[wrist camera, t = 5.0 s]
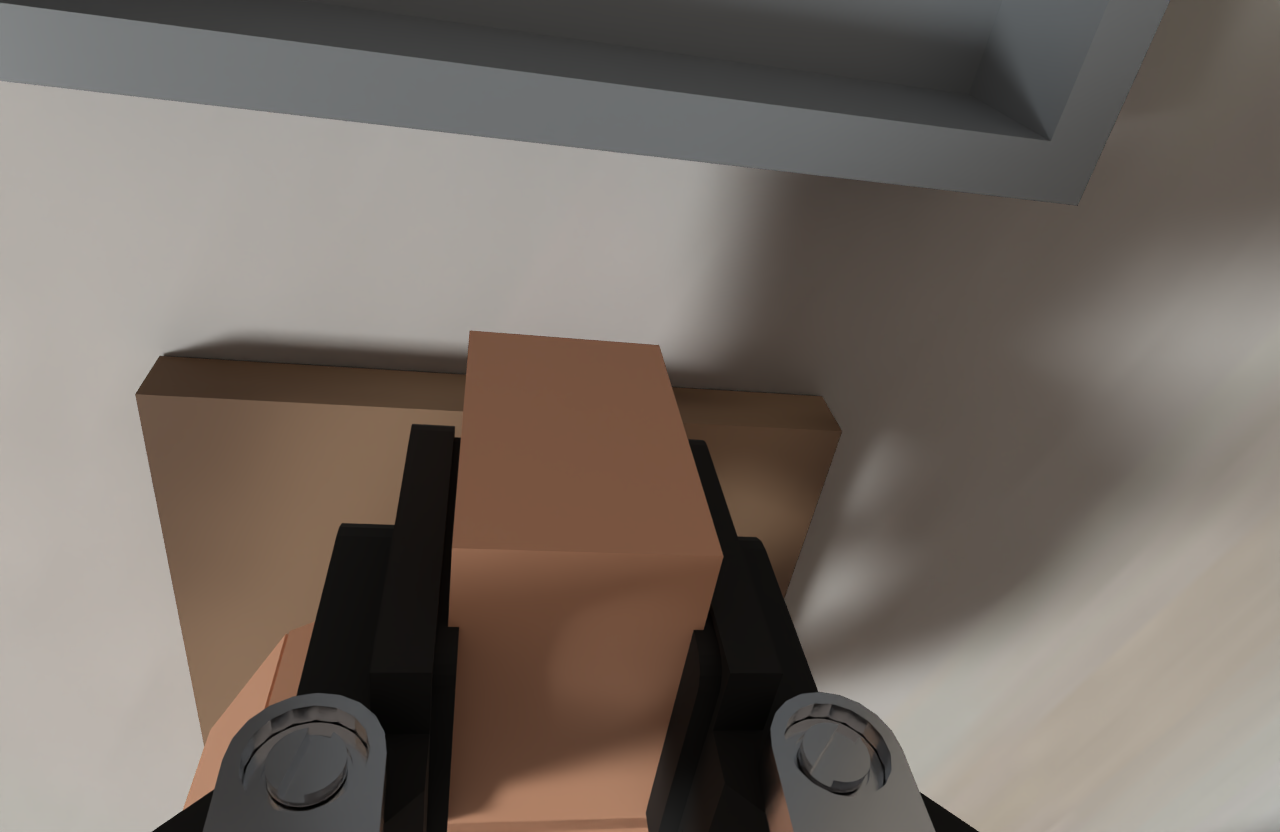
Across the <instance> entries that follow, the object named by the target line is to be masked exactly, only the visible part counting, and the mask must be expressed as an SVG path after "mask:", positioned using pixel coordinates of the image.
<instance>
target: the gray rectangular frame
mask: <svg viewBox="0 0 1280 832" xmlns="http://www.w3.org/2000/svg"><path fill="white" fill-rule="evenodd" d="M1169 2H1170V0H0V81H7V82H15V83H24V84H33V85H41V86H50V87H59V88H67V89H76V90H84V91H93V92H102V93H110V94H119V95H128V96H136V97H145V98H153V99H162V100H171V101H179V102H188V103H197V104H205V105H214V106H223V107H231V108H240V109H248V110H257V111H266V112H274V113H283V114H292V115H300V116H309V117H317V118H326V119H335V120H343V121H352V122H361V123H369V124H378V125H387V126H395V127H404V128H412V129H421V130H430V131H438V132H447V133H456V134H464V135H473V136H481V137H490V138H499V139H507V140H516V141H525V142H533V143H542V144H551V145H559V146H568V147H576V148H585V149H594V150H602V151H611V152H620V153H628V154H637V155H645V156H654V157H663V158H671V159H680V160H689V161H697V162H706V163H715V164H723V165H732V166H740V167H749V168H758V169H766V170H775V171H784V172H792V173H801V174H809V175H818V176H827V177H835V178H844V179H853V180H861V181H870V182H878V183H887V184H896V185H904V186H913V187H922V188H930V189H939V190H948V191H956V192H965V193H973V194H982V195H991V196H999V197H1008V198H1017V199H1025V200H1034V201H1042V202H1051V203H1060V204H1068V205H1077V206H1078V204H1079V201H1080V199H1081V197H1082V195H1083V193H1084V190H1085V188H1086V186H1087V184H1088V181H1089V179H1090V177H1091V175H1092V173H1093V170H1094V168H1095V166H1096V164H1097V161H1098V159H1099V157H1100V155H1101V153H1102V150H1103V148H1104V146H1105V144H1106V141H1107V139H1108V137H1109V135H1110V133H1111V130H1112V128H1113V126H1114V124H1115V122H1116V119H1117V117H1118V115H1119V113H1120V110H1121V108H1122V106H1123V104H1124V102H1125V99H1126V97H1127V95H1128V93H1129V90H1130V88H1131V86H1132V84H1133V82H1134V79H1135V77H1136V75H1137V73H1138V70H1139V68H1140V66H1141V64H1142V62H1143V59H1144V57H1145V55H1146V53H1147V51H1148V48H1149V46H1150V44H1151V42H1152V39H1153V37H1154V35H1155V33H1156V31H1157V28H1158V26H1159V24H1160V22H1161V19H1162V17H1163V15H1164V13H1165V11H1166V8H1167V6H1168V4H1169Z"/></svg>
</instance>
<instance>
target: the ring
mask: <svg viewBox="0 0 1280 832" xmlns="http://www.w3.org/2000/svg"><path fill="white" fill-rule="evenodd" d="M722 560H723V553H722V550H721V547H720V543H719V540H718V537H717V533H716V530H715V527H714V524H713V520H712V517H711V514H710V511H709V507H708V504H707V501H706V497H705V494H704V491H703V488H702V484H701V481H700V478H699V474H698V471H697V468H696V465H695V461H694V458H693V455H692V451H691V448H690V445H689V442H688V438H687V435H686V432H685V429H684V425H683V422H682V419H681V415H680V412H679V409H678V406H677V402H676V399H675V396H674V392H673V389H672V386H671V383H670V379H669V376H668V373H667V369H666V366H665V363H664V360H663V356H662V353H661V350H660V347H659V345H650V344H637V343H624V342H611V341H598V340H585V339H572V338H559V337H546V336H533V335H520V334H507V333H494V332H481V331H470V334H469V346H468V358H467V370H466V383H465V395H464V407H463V419H462V431H461V444H460V456H459V468H458V480H457V493H456V505H455V517H454V529H453V541H452V557H451V578H450V598H449V619H448V627H459V638H458V655H457V672H456V689H455V707H454V724H453V741H452V758H451V775H450V792H449V809H448V826H447V832H648V825H647V818H646V809H647V805H648V801H649V798H650V794H651V790H652V786H653V782H654V779H655V775H656V771H657V767H658V763H659V760H660V756H661V752H662V748H663V744H664V741H665V737H666V733H667V729H668V725H669V722H670V718H671V714H672V710H673V706H674V703H675V699H676V695H677V691H678V687H679V684H680V680H681V676H682V672H683V668H684V665H685V661H686V657H687V653H688V649H689V646H690V642H691V638H692V634H693V630H704V626H705V622H706V619H707V615H708V611H709V608H710V604H711V600H712V597H713V593H714V589H715V586H716V582H717V578H718V575H719V571H720V567H721V564H722ZM314 623H315V621H314V622H312V623H309V624H307V625H304V626H301V627H299V628H296V629H294V630H291V631H289V634H285V635H284V637H283V638H282V639H281V640H280V642H279V643H278V644H277V646H276V647H275V648H274V649H273V651H272V652H271V653H270V654H269V656H268V657H267V658H266V660H265V661H264V662H263V663H262V665H261V666H260V667H259V668H258V670H257V671H256V672H255V674H254V675H253V676H252V677H251V679H250V680H249V681H248V682H247V684H246V685H245V686H244V688H243V689H242V690H241V691H240V693H239V694H238V695H237V697H236V698H235V699H234V700H233V702H232V703H231V704H230V705H229V707H228V708H227V709H226V711H225V712H224V713H223V714H222V716H221V717H220V718H219V719H218V721H217V722H216V723H215V725H214V726H213V727H212V728H211V730H210V732H209V735H208V738H207V741H206V744H205V747H204V749H203V752H202V755H201V758H200V761H199V764H198V767H197V770H196V773H195V776H194V779H193V782H192V785H191V788H190V791H189V794H188V796H187V799H186V802H185V805H184V808H183V810H184V809H186V808H187V807H189V806H190V805H192V804H193V803H195V802H196V801H197V800H199V799H200V798H202V797H203V796H205V795H206V794H208V793H209V792H211V791H212V790H214V788H215V785H216V781H217V777H218V774H219V770H220V766H221V762H222V759H223V757H224V755H225V753H226V750H227V748H228V746H229V744H230V742H231V740H232V738H233V737H234V736H235V735H236V733H237V732H238V731H239V730H240V729H241V728H242V727H243V726H244V724H245V723H246V722H247V721H248V720H249V719H251V718H252V717H254V716H255V715H257V714H258V713H259V712H261V711H262V710H264V709H265V708H267V707H268V706H270V705H273V704H275V703H278V702H280V701H283V700H285V699H288V698H291V697H293V696H296V695H297V691H298V687H299V683H300V679H301V675H302V671H303V667H304V663H305V659H306V655H307V651H308V647H309V643H310V639H311V635H312V631H313V627H314Z"/></svg>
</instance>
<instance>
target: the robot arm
mask: <svg viewBox="0 0 1280 832" xmlns="http://www.w3.org/2000/svg"><path fill="white" fill-rule="evenodd" d="M688 442H689V445H690V448H691V451H692V455H693V458H694V461H695V465H696V468H697V471H698V474H699V478H700V481H701V484H702V488H703V491H704V494H705V497H706V501H707V504H708V507H709V511H710V514H711V517H712V520H713V524H714V527H715V530H716V533H717V537H718V540H719V543H720V547H721V550H722V553H723V560H722V564H721V567H720V571H719V575H718V578H717V582H716V586H715V589H714V593H713V597H712V600H711V604H710V608H709V611H708V615H707V619H706V622H705V626H704V630H693V634H692V638H691V642H690V646H689V649H688V653H687V657H686V661H685V665H684V668H683V672H682V676H681V680H680V684H679V687H678V691H677V695H676V699H675V703H674V706H673V710H672V714H671V718H670V722H669V725H668V729H667V733H666V737H665V741H664V744H663V748H662V752H661V756H660V760H659V763H658V767H657V771H656V775H655V779H654V782H653V786H652V790H651V794H650V798H649V801H648V805H647V809H646V818H647V825H648V832H979V831H977V830H976V829H974V828H973V827H971V826H970V825H968V824H967V823H965V822H964V821H962V820H961V819H959V818H958V817H956V816H955V815H953V814H952V813H950V812H949V811H947V810H946V809H944V808H943V807H941V806H940V805H938V804H937V803H935V802H934V801H932V800H931V799H929V798H928V797H926V796H925V795H924V794H922V793H921V792H919V789H918V787H917V784H916V782H915V779H914V777H913V774H912V772H911V769H910V767H909V764H908V762H907V759H906V757H905V754H904V752H903V749H902V748H901V746H900V744H899V742H898V741H897V739H896V737H895V735H894V733H893V732H892V730H891V729H890V728H889V727H888V726H887V725H886V724H885V723H884V722H883V721H882V720H881V719H880V718H879V717H878V716H877V715H876V714H875V713H873V712H872V711H870V710H869V709H867V708H866V707H864V706H863V705H861V704H860V703H858V702H855V701H853V700H850V699H848V698H845V697H843V696H841V695H836V694H830V693H823V692H818V690H817V687H816V685H815V682H814V679H813V677H812V674H811V671H810V668H809V666H808V663H807V660H806V658H805V655H804V652H803V649H802V647H801V644H800V641H799V639H798V636H797V633H796V630H795V628H794V625H793V622H792V620H791V617H790V614H789V611H788V609H787V606H786V603H785V601H784V598H783V595H782V592H781V590H780V587H779V584H778V582H777V579H776V576H775V573H774V571H773V568H772V565H771V563H770V560H769V557H768V554H767V552H766V549H765V547H764V545H763V543H762V541H761V540H760V539H758V538H757V537H739V536H737V533H736V530H735V527H734V524H733V521H732V518H731V515H730V512H729V509H728V506H727V503H726V500H725V497H724V494H723V491H722V488H721V485H720V482H719V479H718V476H717V473H716V470H715V467H714V464H713V461H712V458H711V455H710V452H709V449H708V446H707V444H706V442H705V441H704V440H696V439H688ZM460 444H461V438H460V437H455V426H445V425H427V424H412V426H411V431H410V437H409V442H408V448H407V454H406V460H405V466H404V472H403V478H402V484H401V490H400V496H399V502H398V508H397V514H396V520H395V525H385V524H356V523H342V524H341V525H340V526H339V529H338V532H337V536H336V539H335V543H334V547H333V551H332V555H331V559H330V563H329V567H328V571H327V575H326V579H325V583H324V587H323V591H322V595H321V599H320V603H319V607H318V611H317V615H316V619H315V623H314V627H313V631H312V635H311V639H310V643H309V647H308V651H307V655H306V659H305V663H304V667H303V671H302V675H301V679H300V683H299V687H298V691H297V695H296V696H293V697H291V698H288V699H285V700H283V701H280V702H278V703H275V704H273V705H270V706H268V707H267V708H265V709H264V710H262V711H261V712H259V713H258V714H257V715H255V716H254V717H252V718H251V719H249V720H248V721H247V722H246V723H245V724H244V726H243V727H242V728H241V729H240V730H239V731H238V732H237V733H236V735H235V736H234V737H233V738H232V740H231V742H230V744H229V746H228V748H227V750H226V753H225V755H224V757H223V759H222V762H221V766H220V770H219V774H218V777H217V781H216V785H215V788H214V790H212V791H211V792H209V793H208V794H206V795H205V796H203V797H202V798H200V799H199V800H197V801H196V802H195V803H193V804H192V805H190V806H189V807H187V808H186V809H184V810H183V811H181V812H180V813H178V814H177V815H176V816H174V817H173V818H171V819H170V820H168V821H167V822H165V823H164V824H162V825H161V826H159V827H158V828H157V829H155V830H154V831H152V832H447V826H448V809H449V792H450V775H451V758H452V741H453V724H454V707H455V689H456V672H457V655H458V638H459V627H448V619H449V598H450V578H451V557H452V541H453V529H454V517H455V505H456V493H457V480H458V468H459V456H460Z"/></svg>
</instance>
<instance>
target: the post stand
mask: <svg viewBox="0 0 1280 832" xmlns="http://www.w3.org/2000/svg"><path fill="white" fill-rule="evenodd" d="M465 383H466V375H464V374H447V373H431V372H415V371H398V370H382V369H366V368H349V367H333V366H316V365H300V364H284V363H267V362H251V361H234V360H218V359H202V358H185V357H169V356H159V358H158V359H157V361H156V362H155V364H154V366H153V367H152V369H151V370H150V372H149V374H148V375H147V377H146V378H145V380H144V381H143V383H142V385H141V386H140V388H139V389H138V391H137V392H136V394H135V395H136V400H137V405H138V411H139V416H140V421H141V426H142V431H143V436H144V441H145V446H146V451H147V456H148V462H149V467H150V472H151V477H152V482H153V487H154V492H155V497H156V502H157V507H158V513H159V518H160V523H161V528H162V533H163V538H164V543H165V548H166V553H167V558H168V564H169V569H170V574H171V579H172V584H173V589H174V594H175V599H176V604H177V609H178V615H179V620H180V625H181V630H182V635H183V640H184V645H185V650H186V655H187V660H188V666H189V671H190V676H191V681H192V686H193V691H194V696H195V701H196V706H197V711H198V717H199V722H200V727H201V732H202V737H203V742H204V747H205V744H206V741H207V738H208V735H209V732H210V730H211V728H212V727H213V726H214V725H215V723H216V722H217V721H218V719H219V718H220V717H221V716H222V714H223V713H224V712H225V711H226V709H227V708H228V707H229V705H230V704H231V703H232V702H233V700H234V699H235V698H236V697H237V695H238V694H239V693H240V691H241V690H242V689H243V688H244V686H245V685H246V684H247V682H248V681H249V680H250V679H251V677H252V676H253V675H254V674H255V672H256V671H257V670H258V668H259V667H260V666H261V665H262V663H263V662H264V661H265V660H266V658H267V657H268V656H269V654H270V653H271V652H272V651H273V649H274V648H275V647H276V646H277V644H278V643H279V642H280V640H281V639H282V638H283V637H284V635H285V634H289V631H291V630H294V629H296V628H299V627H301V626H304V625H307V624H309V623H312V622H314V621H315V619H316V615H317V611H318V607H319V603H320V599H321V595H322V591H323V587H324V583H325V579H326V575H327V571H328V567H329V563H330V559H331V555H332V551H333V547H334V543H335V539H336V536H337V532H338V529H339V526H340V525H341V524H342V523H356V524H385V525H395V520H396V514H397V508H398V502H399V496H400V490H401V484H402V478H403V472H404V466H405V460H406V454H407V448H408V442H409V437H410V431H411V426H412V424H427V425H445V426H455V437H460V438H461V431H462V419H463V407H464V395H465ZM672 389H673V392H674V396H675V399H676V402H677V406H678V409H679V412H680V415H681V419H682V422H683V425H684V429H685V432H686V435H687V438H688V439H696V440H704V441H705V442H706V444H707V446H708V449H709V452H710V455H711V458H712V461H713V464H714V467H715V470H716V473H717V476H718V479H719V482H720V485H721V488H722V491H723V494H724V497H725V500H726V503H727V506H728V509H729V512H730V515H731V518H732V521H733V524H734V527H735V530H736V533H737V536H739V537H757V538H758V539H760V540H761V541H762V543H763V545H764V547H765V549H766V552H767V554H768V557H769V560H770V563H771V565H772V568H773V571H774V573H775V576H776V579H777V582H778V584H779V587H780V590H781V592H782V595H783V598H784V597H785V595H786V592H787V589H788V586H789V583H790V580H791V577H792V574H793V572H794V569H795V566H796V563H797V560H798V557H799V554H800V551H801V548H802V546H803V543H804V540H805V537H806V534H807V531H808V528H809V525H810V523H811V520H812V517H813V514H814V511H815V508H816V505H817V502H818V499H819V497H820V494H821V491H822V488H823V485H824V482H825V479H826V476H827V474H828V471H829V468H830V465H831V462H832V459H833V456H834V453H835V450H836V448H837V445H838V442H839V439H840V436H841V433H842V430H841V429H840V427H839V425H838V423H837V422H836V420H835V418H834V416H833V415H832V413H831V411H830V409H829V408H828V406H827V404H826V402H825V400H824V399H823V397H822V396H808V395H792V394H775V393H759V392H742V391H726V390H710V389H693V388H677V387H672Z"/></svg>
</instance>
